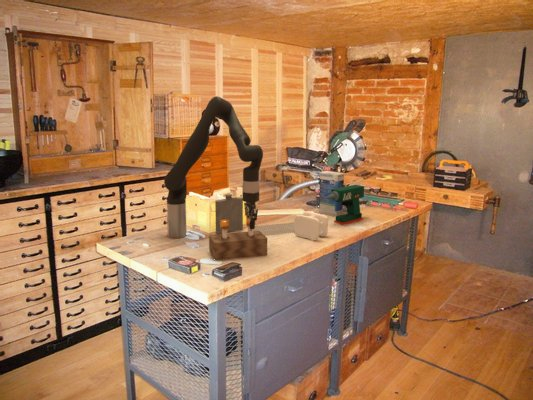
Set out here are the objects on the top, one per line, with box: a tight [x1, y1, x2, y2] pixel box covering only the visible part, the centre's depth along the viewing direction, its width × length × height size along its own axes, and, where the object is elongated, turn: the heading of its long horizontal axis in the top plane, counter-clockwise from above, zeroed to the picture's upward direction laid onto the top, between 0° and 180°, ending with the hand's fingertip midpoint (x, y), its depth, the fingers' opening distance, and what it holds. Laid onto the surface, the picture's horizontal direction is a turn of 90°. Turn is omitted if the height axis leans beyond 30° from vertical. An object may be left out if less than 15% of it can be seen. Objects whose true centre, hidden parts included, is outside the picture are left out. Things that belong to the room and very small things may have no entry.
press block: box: [208, 231, 268, 261], centre depth 199 cm, size 24×12×8 cm, turn 108°
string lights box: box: [318, 170, 345, 218], centre depth 267 cm, size 13×8×26 cm, turn 49°
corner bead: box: [253, 221, 295, 237], centre depth 232 cm, size 29×9×5 cm, turn 111°
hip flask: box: [214, 193, 244, 234], centre depth 230 cm, size 16×4×20 cm, turn 125°
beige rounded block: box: [294, 211, 329, 241], centre depth 224 cm, size 15×11×12 cm
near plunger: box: [220, 219, 229, 239], centre depth 196 cm, size 4×4×15 cm
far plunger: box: [245, 217, 254, 237], centre depth 200 cm, size 4×4×15 cm
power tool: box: [325, 184, 365, 226], centre depth 248 cm, size 32×7×20 cm, turn 131°
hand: (250, 227), depth 199 cm, fingers closed on far plunger, 4 cm apart
